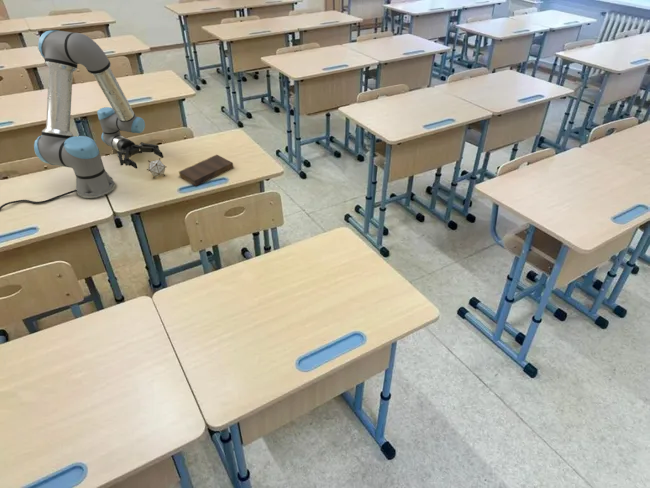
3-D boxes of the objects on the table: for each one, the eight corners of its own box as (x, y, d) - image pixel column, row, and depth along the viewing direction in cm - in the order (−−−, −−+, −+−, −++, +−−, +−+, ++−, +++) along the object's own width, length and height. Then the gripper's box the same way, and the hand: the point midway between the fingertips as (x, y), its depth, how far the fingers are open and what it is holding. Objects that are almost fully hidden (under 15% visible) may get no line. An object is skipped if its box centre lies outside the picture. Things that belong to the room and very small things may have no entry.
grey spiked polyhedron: (163, 184, 211) (162, 175, 202) (144, 178, 209) (143, 168, 200) (169, 167, 214) (169, 158, 205) (151, 161, 212) (150, 151, 203)
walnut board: (195, 186, 203) (194, 180, 201) (179, 176, 209) (178, 171, 207) (233, 168, 216) (232, 162, 214) (217, 159, 222) (216, 154, 220)
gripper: (148, 144, 229) (173, 157, 218) (102, 162, 214) (127, 177, 203) (145, 130, 224) (170, 143, 214) (97, 147, 209) (122, 163, 199)
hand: (149, 160), depth 208 cm, fingers open, 13 cm apart
